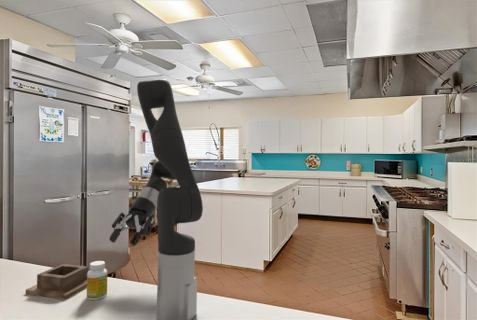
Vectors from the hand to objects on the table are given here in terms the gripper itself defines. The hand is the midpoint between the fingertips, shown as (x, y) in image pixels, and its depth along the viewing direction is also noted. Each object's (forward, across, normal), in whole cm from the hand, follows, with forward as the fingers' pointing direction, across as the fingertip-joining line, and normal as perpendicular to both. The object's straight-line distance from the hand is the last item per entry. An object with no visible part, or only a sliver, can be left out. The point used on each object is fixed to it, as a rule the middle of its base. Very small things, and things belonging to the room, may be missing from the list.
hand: (121, 242), depth 94 cm
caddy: (+16, -14, +3) cm, 22 cm away
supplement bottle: (+16, 0, +3) cm, 16 cm away
